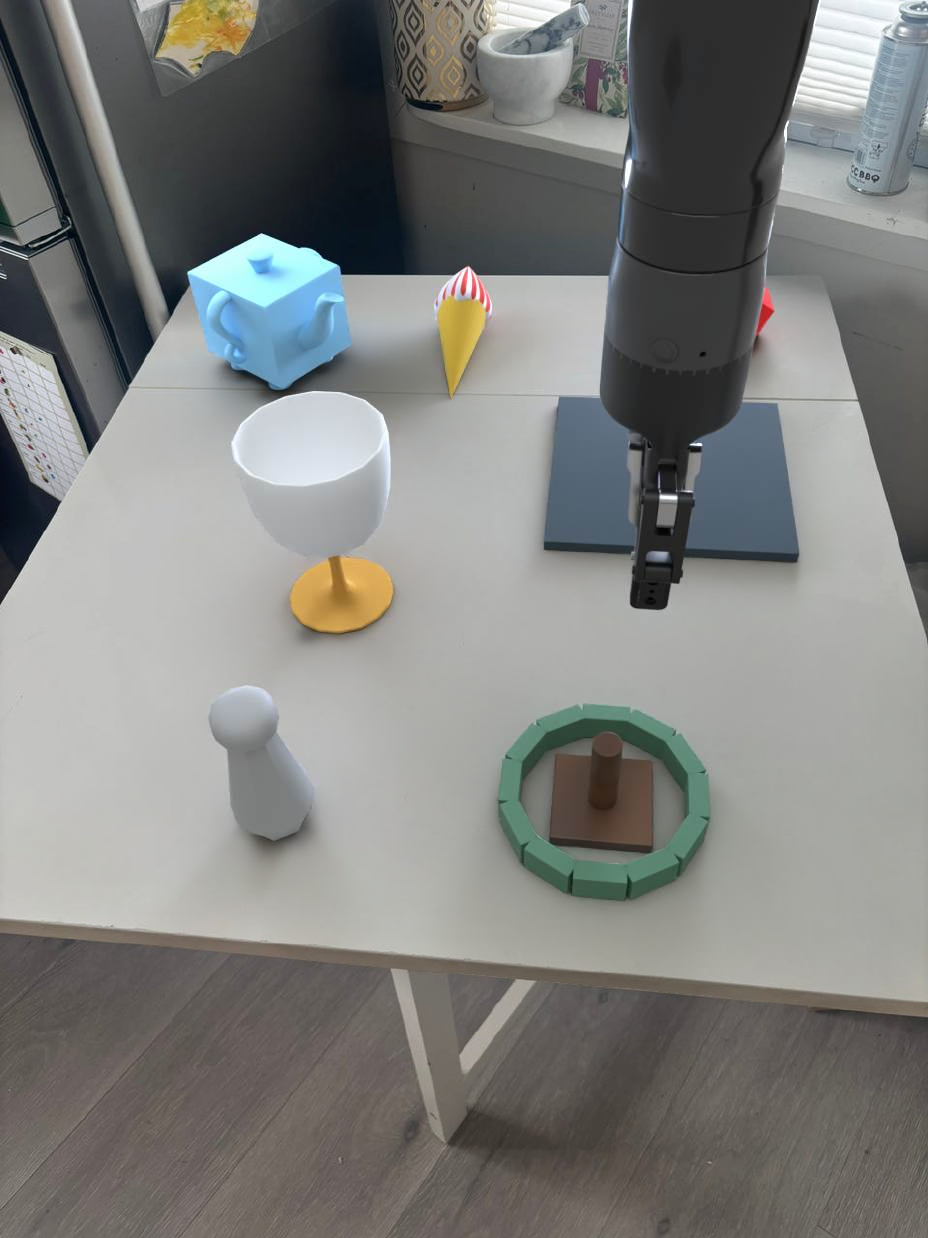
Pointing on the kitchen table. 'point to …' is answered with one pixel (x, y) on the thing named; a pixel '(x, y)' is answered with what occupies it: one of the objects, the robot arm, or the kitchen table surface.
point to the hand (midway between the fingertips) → (647, 555)
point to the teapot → (271, 309)
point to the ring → (601, 875)
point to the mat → (723, 490)
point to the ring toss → (603, 799)
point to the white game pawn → (260, 764)
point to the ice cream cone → (461, 321)
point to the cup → (321, 499)
